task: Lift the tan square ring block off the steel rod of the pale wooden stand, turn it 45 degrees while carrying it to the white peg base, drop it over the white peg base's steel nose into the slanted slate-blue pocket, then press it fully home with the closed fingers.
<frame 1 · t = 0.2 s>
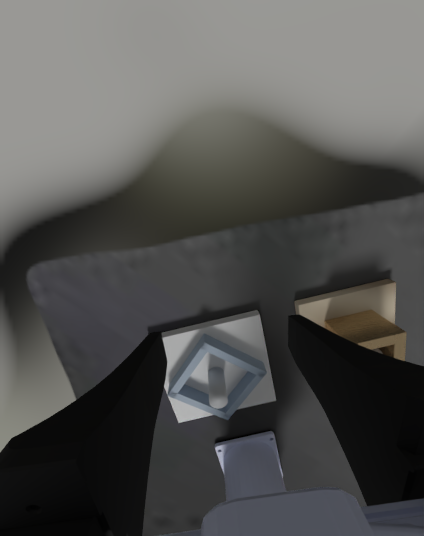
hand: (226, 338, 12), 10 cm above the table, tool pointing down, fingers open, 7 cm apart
stand: (342, 329, 24), on the table
white peg base: (215, 366, 25), on the table
tan square ring block: (348, 334, 23), point 1 cm above the table, touching stand
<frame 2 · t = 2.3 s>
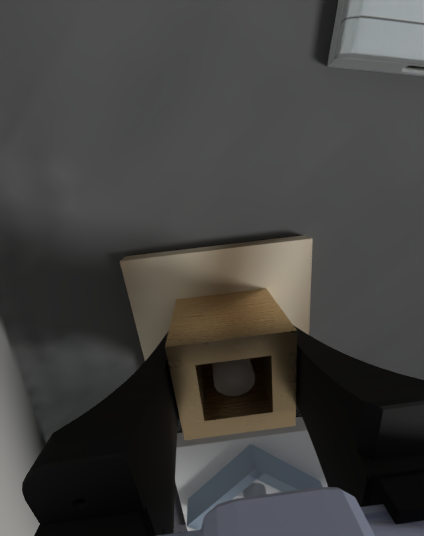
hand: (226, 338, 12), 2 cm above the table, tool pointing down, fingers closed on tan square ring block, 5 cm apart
stand: (223, 323, 14), on the table
white peg base: (251, 474, 18), on the table
tan square ring block: (225, 332, 13), point 1 cm above the table, touching gripper, stand
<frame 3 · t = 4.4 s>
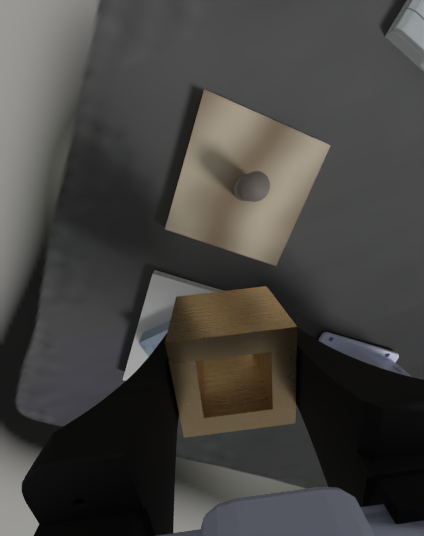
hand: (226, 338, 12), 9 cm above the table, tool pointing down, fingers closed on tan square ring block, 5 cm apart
stand: (242, 189, 18), on the table
white peg base: (197, 340, 22), on the table
tan square ring block: (225, 330, 13), point 8 cm above the table, touching gripper
when the fingers open (4 cm above the table, at t = 6.7 s): tan square ring block drops 2 cm, resting on white peg base.
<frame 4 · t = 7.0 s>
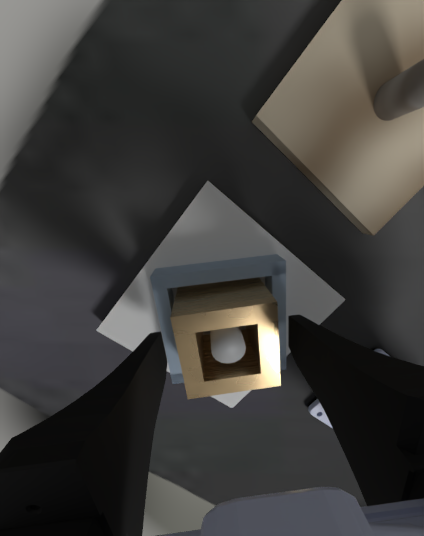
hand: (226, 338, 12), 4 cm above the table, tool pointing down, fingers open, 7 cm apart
stand: (375, 108, 12), on the table
white peg base: (220, 307, 16), on the table
tan square ring block: (221, 313, 15), point 1 cm above the table, touching white peg base
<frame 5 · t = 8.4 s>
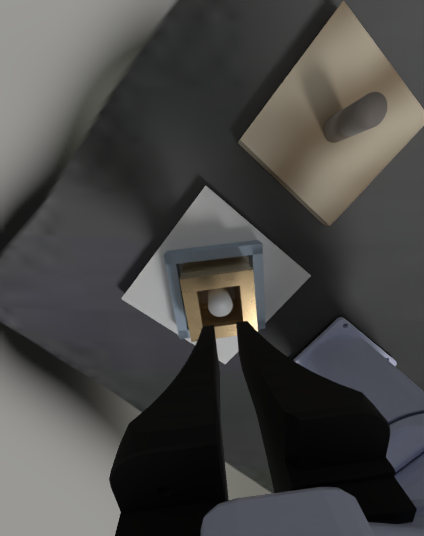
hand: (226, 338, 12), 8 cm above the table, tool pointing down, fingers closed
stand: (328, 132, 17), on the table
white peg base: (216, 283, 20), on the table
tan square ring block: (216, 285, 19), point 1 cm above the table, touching white peg base
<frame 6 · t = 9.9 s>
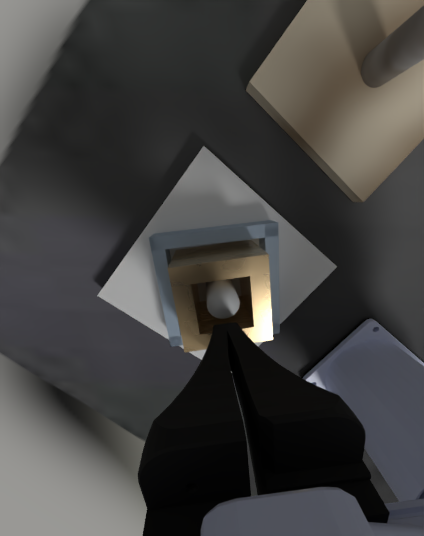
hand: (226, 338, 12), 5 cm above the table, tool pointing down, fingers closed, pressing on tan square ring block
stand: (364, 77, 13), on the table
white peg base: (217, 276, 16), on the table
tan square ring block: (218, 279, 15), point 1 cm above the table, touching gripper, white peg base
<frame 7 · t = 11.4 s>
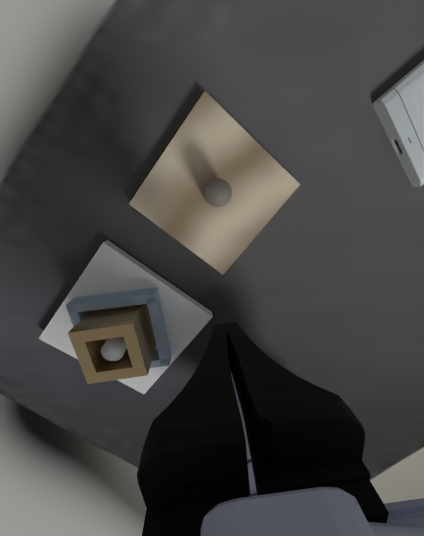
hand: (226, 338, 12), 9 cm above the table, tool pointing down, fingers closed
stand: (214, 194, 19), on the table
white peg base: (129, 322, 22), on the table
tan square ring block: (125, 326, 21), point 1 cm above the table, touching white peg base
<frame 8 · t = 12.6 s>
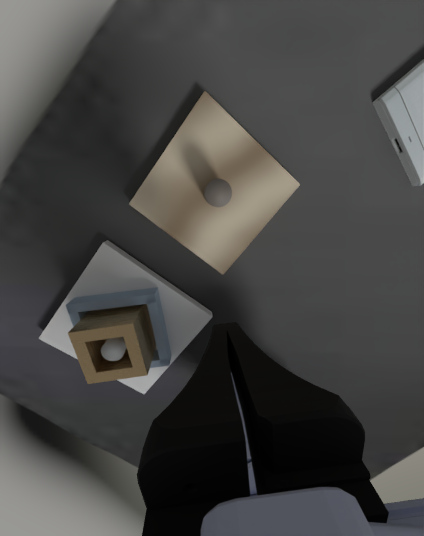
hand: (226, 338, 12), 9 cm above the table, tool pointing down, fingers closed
stand: (214, 194, 19), on the table
white peg base: (129, 322, 22), on the table
tan square ring block: (125, 326, 21), point 1 cm above the table, touching white peg base
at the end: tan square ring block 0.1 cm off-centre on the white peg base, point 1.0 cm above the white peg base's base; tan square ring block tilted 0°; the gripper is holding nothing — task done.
